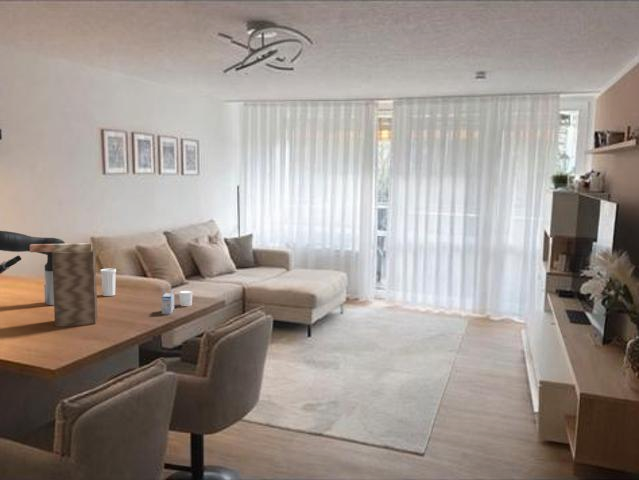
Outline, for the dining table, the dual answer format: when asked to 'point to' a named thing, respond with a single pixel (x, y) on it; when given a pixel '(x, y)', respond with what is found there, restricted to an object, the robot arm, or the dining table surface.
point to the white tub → (185, 298)
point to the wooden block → (60, 247)
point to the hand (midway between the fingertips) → (18, 258)
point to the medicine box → (167, 303)
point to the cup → (108, 281)
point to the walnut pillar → (74, 288)
